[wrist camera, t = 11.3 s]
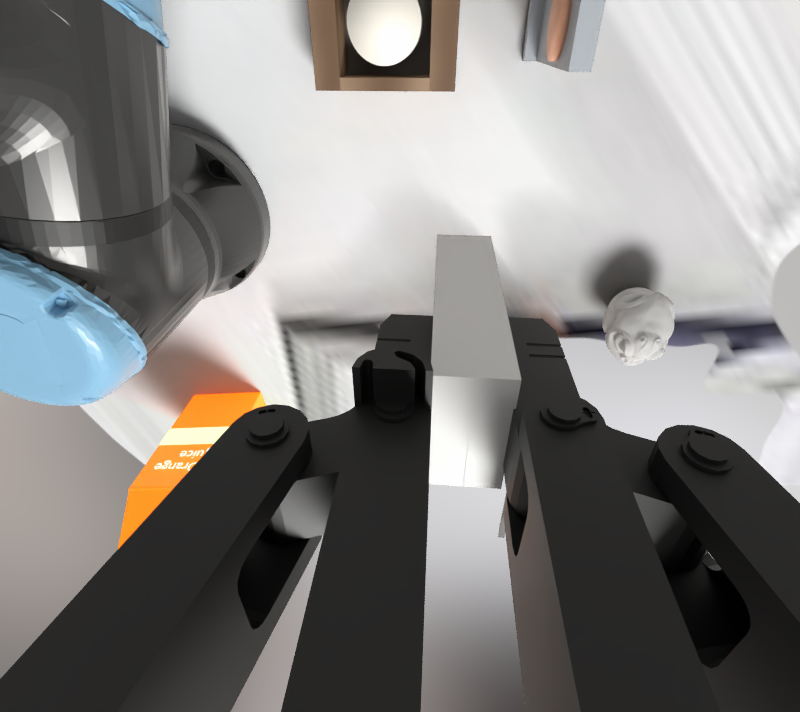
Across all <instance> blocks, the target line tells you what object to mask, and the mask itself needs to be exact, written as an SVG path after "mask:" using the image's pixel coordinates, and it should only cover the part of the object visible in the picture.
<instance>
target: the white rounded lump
mask: <svg viewBox="0 0 800 712" xmlns="http://www.w3.org/2000/svg"><path fill="white" fill-rule="evenodd" d="M674 310H675V308H674V304H673V303H672V301H671V300H670V299H669V298H668V297H666V296H664V295H663V294H662V293H660V292H653V291H651V290H649V289H646V288H640V287H637V288H629V289H626V290H624V291H622V292H620V293H618V294H617V295H616V296H615V297H614V298H613V299H612V300H611V302H610V303H609V306H608V308H607V311H606V312H605V317H604V319H603V330H604V331H605V332H606V333H607V334H606V335H605V340H606V344H607V347H608V348H609V350H610V351H611V353H612V354H613V355H614V356H615V358H617V360H619V361H620V362H621V363H622V364H625V365H631V366H632V365H637V364H639V363H642V362H644V360H656V359H658V358H659V357H660V356H661V355H662V354H663V353H664V348H665V347H666V345H667V343H668V339H669V338H670V336H671V335H672V333H673V330H674V318H675V313H674Z"/></svg>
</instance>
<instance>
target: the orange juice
mask: <svg viewBox="0 0 800 712" xmlns="http://www.w3.org/2000/svg"><path fill="white" fill-rule="evenodd" d="M262 406H266V405H265V402H264V399H263V397H262V394H261V392H248V393H226V394H205V395H194V396H193V398H192V399H191V400H190V402H189V403H188V405H187V406H186V408H185V409H184V410H183V412H182V413H181V415H180V416H179V418H178V419H177V421H176V422H175V423H174V425H173V426H172V428H171V429H170V430H169V431H168V433H167V434H166V435H165V437H164V438H163V440H162V441H161V443H160V444H159V446H158V448H157V449H156V451H155V452H154V454H153V455H152V456H151V458H150V459H149V461H148V462H147V464H146V465H145V467H144V468H143V469H142V471H141V472H140V474H139V475H138V477H137V478H136V479H135V481H134V482H133V484H132V485H131V487H130V488H129V495H128V500H127V505H126V510H125V516H124V520H123V525H122V530H121V535H120V540H119V546H118V549H119V548H120V547H121V546H122V544H123V543H124V542H125V541H126V540H127V539H128V538H129V537H130V536H131V534H132V533H133V532H134V531H135V530H136V529H137V528H138V527H139V526H140V525H141V523H142V522H143V521H144V520H145V519H146V518H147V517H148V516H149V515H150V514H151V512H152V511H153V510H154V509H155V508H156V507H157V506H158V505H159V504H160V502H161V501H162V500H163V499H164V498H165V497H166V496H167V495H168V494H169V493H170V491H171V490H172V489H173V488H174V487H175V486H176V485H177V484H178V483H179V482H180V480H181V479H182V478H183V477H184V476H185V475H186V474H187V473H188V472H189V471H190V469H191V468H192V467H193V466H194V465H195V464H196V463H197V462H198V461H199V459H200V458H201V457H202V456H203V455H204V454H205V453H206V452H207V451H208V450H209V448H210V447H211V446H212V445H213V444H214V443H215V442H216V441H217V440H218V439H219V437H220V436H221V435H222V434H223V433H224V432H225V431H226V430H227V429H228V427H229V426H230V425H231V424H232V423H233V422H234V421H235V420H237V419H238V418H239V417H240V416H242V415H243V414H244V413H246V412H249V411H251V410H253V409H256V408H258V407H262Z"/></svg>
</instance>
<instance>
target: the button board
mask: <svg viewBox="0 0 800 712" xmlns="http://www.w3.org/2000/svg"><path fill="white" fill-rule="evenodd" d="M418 1H419V4H420V6H421V10H422V16H423V27H422V33H421V37H420V40H419V42H418V44H417V46H416V48H415V49H414V51H413V52H412V53H411V54H410V55H409V56H408V57H407V58H405V59H404V60H402V61H401V62H399V63H397V64H394V65H391V66H378V65H375V64H372V63H370V62H368V61H366V60H365V59H364V58H363V57H362V56H361V55H360V54H359V53H358V52H357V51H356V49H355V48H354V46H353V44H352V42H351V40H350V37H349V34H348V29H347V10H348V5H349V2H350V0H308V8H309V19H310V30H311V41H312V52H313V63H314V74H315V84H316V90H327V91H455V76H456V59H457V42H458V24H459V7H460V0H418Z"/></svg>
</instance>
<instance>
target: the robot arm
mask: <svg viewBox="0 0 800 712" xmlns="http://www.w3.org/2000/svg"><path fill="white" fill-rule="evenodd" d="M166 48H169V39H168V37H167V35H166V33H165V32H164V29H163V18H162V8H161V0H0V391H2V392H5V393H7V394H10V395H13V396H16V397H19V398H22V399H26V400H30V401H34V402H39V403H43V404H50V405H62V406H72V405H82V404H88V403H92V402H95V401H98V400H99V399H102V398H104V397H106V396H108V395H110V394H111V393H113V392H114V391H115V390H117V389H118V388H119V387H120V386H121V385H122V384H123V383H124V382H126V381H127V380H128V379H129V378H130V377H131V376H133V375H135V374H137V373H138V372H139V371H141V370H142V368H143V367H144V365H145V364H146V362H145V361H147V359H148V358H149V357H150V356H151V355H152V353H153V352H154V351H155V350H156V349H157V348H158V347H159V346H160V345H161V343H162V342H163V341H164V340H165V339H166V338H167V337H168V336H169V335H170V334H171V332H172V331H173V330H174V329H175V328H176V327H177V326H178V325H179V324H180V322H181V321H182V320H183V319H184V318H185V317H186V316H187V315H188V314H189V313H190V311H191V310H192V309H193V308H194V307H195V306H196V305H197V304H198V302H199V301H200V300H201V299H204V298H207V297H210V296H213V295H216V294H219V293H222V292H225V291H228V290H230V289H232V288H234V287H236V286H237V285H239V284H240V283H242V282H243V281H244V280H246V279H247V278H248V277H249V276H250V274H251V273H252V272H253V271H254V270H255V268H256V267H257V266H258V265H259V263H260V262H261V260H262V259H263V257H264V255H265V252H266V250H267V247H268V243H269V237H270V219H269V212H268V208H267V204H266V201H265V198H264V195H263V193H262V191H261V189H260V187H259V185H258V183H257V181H256V179H255V178H254V176H253V175H252V173H251V172H250V170H249V169H248V168H247V167H246V165H245V164H244V163H243V162H242V161H241V160H240V159H239V158H238V157H237V156H236V155H235V154H234V153H233V152H232V151H231V150H230V149H228V148H227V147H226V146H225V145H223V144H222V143H221V142H219V141H217V140H216V139H214V138H213V137H211V136H209V135H207V134H205V133H203V132H200V131H198V130H195V129H192V128H189V127H184V126H179V125H169V108H168V85H167V63H166ZM560 346H561V344H560V341H559V339H558V336H557V333H556V331H555V330H554V329H553V328H552V327H551V326H550V325H549V324H548V323H546V322H545V321H544V320H543V319H534V318H509V317H508V314H507V310H506V305H505V300H504V296H503V291H502V286H501V281H500V277H499V272H498V267H497V263H496V258H495V253H494V249H493V244H492V239H491V236H467V235H437V250H436V271H435V291H434V312H433V316H422V315H397V314H391V315H390V316H389V317H388V318H387V319H386V320H385V321H384V322H383V323H382V324H381V325H380V329H379V334H378V339H377V343H376V347H375V350H371V351H368V352H366V353H365V354H363V355H362V356H360V357H359V358H358V359H357V360H356V362H355V363H354V365H353V367H352V373H353V386H354V400H355V407H354V408H352V409H351V410H349V411H347V412H345V413H343V414H341V415H338V416H335V417H331V418H327V419H321V420H316V421H310V422H308V420H307V418H306V417H305V416H304V415H303V413H302V412H301V411H300V410H297V409H295V408H293V407H290V406H286V405H268V406H262V407H258V408H256V409H253V410H251V411H249V412H246V413H244V414H243V415H242V416H240V417H239V418H238V419H237V420H235V421H234V422H233V423H232V424H231V425H230V426H229V427H228V429H227V430H226V431H225V432H224V433H223V434H222V435H221V436H220V437H219V439H218V440H217V441H216V442H215V443H214V444H213V445H212V446H211V447H210V448H209V450H208V451H207V452H206V453H205V454H204V455H203V456H202V457H201V458H200V459H199V461H198V462H197V463H196V464H195V465H194V466H193V467H192V468H191V469H190V471H189V472H188V473H187V474H186V475H185V476H184V477H183V478H182V479H181V480H180V482H179V483H178V484H177V485H176V486H175V487H174V488H173V489H172V490H171V491H170V493H169V494H168V495H167V496H166V497H165V498H164V499H163V500H162V501H161V502H160V504H159V505H158V506H157V507H156V508H155V509H154V510H153V511H152V512H151V514H150V515H149V516H148V517H147V518H146V519H145V520H144V521H143V522H142V523H141V525H140V526H139V527H138V528H137V529H136V530H135V531H134V532H133V533H132V534H131V536H130V537H129V538H128V539H127V540H126V541H125V542H124V543H123V544H122V546H121V547H120V548H119V549H118V550H117V551H116V552H115V553H114V554H113V555H112V557H111V558H110V559H109V560H108V561H107V562H106V563H105V564H104V565H103V567H102V568H101V569H100V570H99V571H98V572H97V573H96V574H95V575H94V576H93V578H92V579H91V580H90V581H89V582H88V583H87V584H86V585H85V586H84V587H83V589H82V590H81V591H80V592H79V593H78V594H77V595H76V596H75V597H74V599H73V600H72V601H71V602H70V603H69V604H68V605H67V606H66V607H65V608H64V610H63V611H62V612H61V613H60V614H59V615H58V616H57V617H56V618H55V619H54V621H53V622H52V623H51V624H50V625H49V626H48V627H47V628H46V629H45V631H44V632H43V633H42V634H41V635H40V636H39V637H38V638H37V639H36V640H35V641H34V643H33V644H32V645H31V646H30V647H29V648H28V649H27V650H26V652H25V653H24V654H23V655H22V656H21V657H20V658H19V659H18V660H17V661H16V662H15V664H14V665H13V666H12V667H11V668H10V669H9V670H8V671H7V672H6V674H5V675H4V676H3V677H2V678H1V679H0V712H230V711H231V709H232V708H233V706H234V704H235V702H236V700H237V698H238V696H239V694H240V692H241V690H242V688H243V687H244V685H245V683H246V681H247V679H248V677H249V675H250V673H251V671H252V670H253V667H254V666H255V664H256V662H257V660H258V658H259V656H260V654H261V652H262V650H263V648H264V647H265V645H266V643H267V641H268V639H269V637H270V635H271V633H272V631H273V629H274V628H275V626H276V624H277V622H278V620H279V618H280V616H281V614H282V612H283V610H284V609H285V607H286V605H287V603H288V601H289V599H290V597H291V595H292V593H293V591H294V590H295V588H296V585H297V584H298V582H299V580H300V578H301V576H302V574H303V572H304V571H305V568H306V567H307V565H308V563H309V561H310V559H311V557H312V555H313V553H314V551H315V550H316V548H317V546H318V544H319V542H320V540H321V537H322V535H324V536H323V540H322V544H321V549H320V552H319V557H318V561H317V565H316V569H315V574H314V577H313V582H312V586H311V590H310V594H309V598H308V602H307V606H306V611H305V615H304V619H303V623H302V627H301V631H300V635H299V639H298V643H297V648H296V652H295V656H294V661H293V664H292V669H291V672H290V677H289V681H288V685H287V689H286V693H285V697H284V702H283V706H282V710H281V712H420V709H421V682H422V654H423V627H424V601H425V600H424V599H425V573H426V547H427V544H426V543H427V520H428V493H429V484H437V485H452V486H467V487H483V488H498V489H501V486H502V481H503V476H505V483H506V491H507V493H506V498H505V503H504V508H503V513H502V518H501V523H500V528H499V536H498V537H503V538H504V536H505V533H506V541H507V550H508V559H509V568H510V577H511V585H512V595H513V603H514V612H515V621H516V630H517V639H518V647H519V656H520V665H521V674H522V683H523V692H524V701H525V709H526V712H800V503H799V502H798V501H797V500H796V499H795V498H794V497H793V496H792V495H791V494H790V493H788V492H787V491H786V490H785V489H784V488H783V487H782V486H781V485H780V484H779V483H778V482H777V481H776V480H775V479H774V478H773V477H772V476H771V475H770V474H769V473H768V472H767V471H766V470H765V469H764V468H763V467H762V466H761V465H760V464H759V463H758V462H756V461H755V460H754V459H753V458H752V457H751V456H750V455H749V454H748V453H747V452H746V451H745V450H744V449H742V448H741V447H740V446H739V445H737V444H736V443H735V442H733V441H732V440H731V439H729V438H727V437H725V436H723V435H721V434H719V433H717V432H715V431H713V430H709V429H706V428H702V427H698V426H694V425H677V426H673V427H670V428H667V429H665V430H664V431H663V432H662V433H661V435H660V436H659V437H658V439H657V441H652V440H648V439H645V438H641V437H637V436H634V435H630V434H626V433H624V432H620V431H618V430H615V429H612V428H610V427H608V426H607V425H606V424H605V421H604V419H603V417H602V416H601V414H600V413H599V412H598V410H597V409H596V408H595V407H594V406H592V405H591V404H590V403H588V402H587V401H586V400H583V399H581V398H580V396H579V394H578V391H577V388H576V385H575V383H574V380H573V377H572V375H571V372H570V369H569V366H568V363H567V361H566V359H565V355H564V352H563V350H562V348H561V347H560ZM708 552H709V553H710V554H711V556H712V557H713V558H714V559H713V558H712V557H711V556H710V554H709V553H708Z"/></svg>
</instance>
